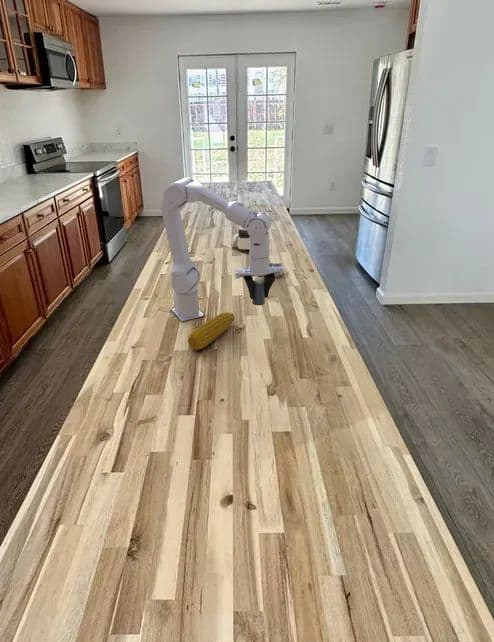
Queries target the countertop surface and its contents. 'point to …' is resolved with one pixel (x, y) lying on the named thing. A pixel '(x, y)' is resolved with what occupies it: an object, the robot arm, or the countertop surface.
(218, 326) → the food
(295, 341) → the countertop surface
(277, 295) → the countertop surface
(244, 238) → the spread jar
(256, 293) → the shaker
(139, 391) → the countertop surface
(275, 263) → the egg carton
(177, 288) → the robot arm
